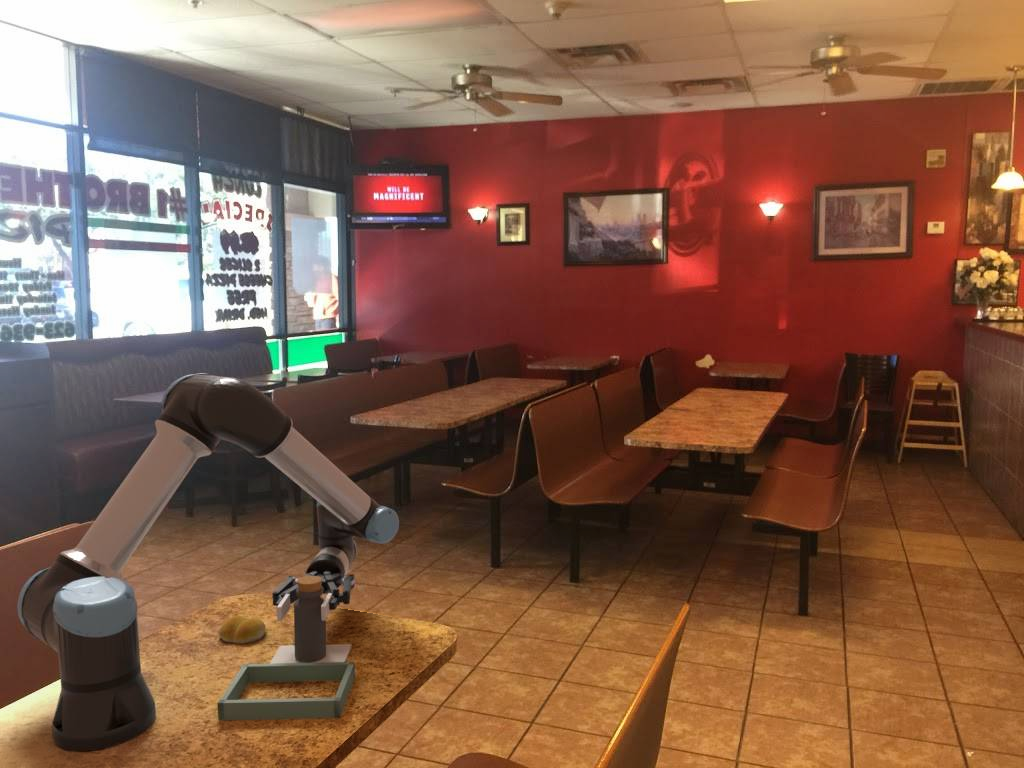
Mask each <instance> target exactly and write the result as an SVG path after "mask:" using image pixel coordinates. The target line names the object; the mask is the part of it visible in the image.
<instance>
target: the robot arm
mask: <svg viewBox="0 0 1024 768" xmlns="http://www.w3.org/2000/svg"><path fill="white" fill-rule="evenodd" d="M161 400H162V401H161V406H162V407H161V408H162V409H161V413H160V414H159V416H158V417H157V419H156V420H155V421H154V424H155V428H156V435H155V436H154V438H153V439H152V440H151V442H150V443H149V445H148V446H147V447H146V449H145V450H144V452H143V453H142V454H141V456H140V457H139V459H138V460H137V462H136V463H135V464H134V465H133V466H132V468H131V469H130V471H129V472H128V474H127V476H125V478H124V480H123V481H122V483H120V485H119V487H117V489H116V490H115V492H114V494H113V495H112V496H111V498H110V499H109V501H108V502H107V504H106V505H105V506H104V508H103V509H102V510H101V512H100V513H99V514H98V516H97V517H96V519H95V520H94V522H93V523H92V524H91V525H90V527H89V529H88V530H87V531H86V533H85V534H84V535H83V537H82V538H81V540H80V541H79V542H78V543H77V545H76V546H75V547H74V548H71V549H68V550H64V551H61V552H60V553H59V554H58V556H57V557H56V558H55V560H54V562H53V563H52V564H51V566H50V567H48V568H44V569H42V570H39V571H38V572H36V573H34V575H32V576H31V577H29V579H28V580H27V581H26V582H25V584H23V587H21V591H20V593H19V595H18V599H17V613H18V614H17V615H18V618H19V621H20V622H21V623H22V625H23V626H24V628H25V629H26V631H27V632H28V633H29V634H30V635H31V636H32V637H33V638H35V639H38V640H40V641H42V642H43V643H44V644H45V645H47V646H48V647H50V648H51V649H53V650H54V651H55V652H56V653H57V656H58V664H59V676H60V687H61V688H60V694H59V697H58V701H57V704H56V708H55V711H54V715H53V719H52V723H51V730H52V741H53V740H54V741H53V743H54V742H55V743H54V744H55V745H56V744H57V745H56V746H57V747H58V748H60V749H61V748H62V749H64V750H67V751H73V752H74V751H77V752H79V751H80V752H85V751H87V752H88V751H94V750H95V751H96V750H101V749H106V748H110V747H113V746H114V747H115V746H117V745H120V744H122V743H125V742H127V741H130V740H132V739H134V738H136V737H138V736H139V735H141V734H142V733H144V732H145V731H146V730H147V729H149V728H150V727H151V726H152V725H153V723H154V722H155V720H156V716H157V711H156V710H157V709H156V701H155V698H154V697H153V695H152V692H151V691H150V688H149V686H148V684H147V682H146V679H145V678H144V676H143V673H142V668H141V666H142V665H141V655H140V654H141V653H140V651H141V650H140V639H139V625H138V624H139V623H138V620H139V619H138V603H137V600H136V596H135V590H134V588H133V586H132V585H131V584H130V583H129V582H127V581H125V580H123V579H122V575H121V573H122V570H123V569H124V567H125V566H126V564H127V562H129V560H130V558H131V557H132V555H133V554H134V552H135V551H136V549H137V548H139V545H140V544H141V542H142V541H143V539H144V537H145V536H146V535H147V533H148V532H149V530H150V529H151V527H153V525H154V524H155V522H156V520H157V519H158V517H159V516H160V515H161V513H162V511H163V510H164V508H165V507H166V505H167V504H168V503H169V502H170V500H171V498H172V497H173V496H174V494H175V493H176V491H177V489H178V488H179V486H180V485H181V484H182V482H183V481H184V479H185V478H186V476H187V475H188V474H189V472H190V471H191V469H192V468H193V466H194V465H195V464H196V462H197V460H198V459H199V458H202V457H208V456H210V455H212V453H213V452H214V450H215V448H216V447H217V445H218V444H219V443H220V441H221V440H222V441H226V442H230V443H232V444H235V445H237V446H239V447H241V448H243V449H244V450H246V451H248V452H249V453H250V454H251V455H252V456H254V457H256V458H257V459H258V458H259V459H260V458H265V459H266V460H267V461H268V462H269V463H271V464H272V465H274V466H275V468H277V469H278V470H279V471H281V473H283V474H284V475H286V477H288V478H289V479H290V480H291V481H293V482H294V483H295V484H296V485H298V486H299V487H300V489H302V490H303V491H305V492H306V493H307V494H308V495H309V496H311V497H312V498H313V499H314V500H316V506H315V507H316V514H317V527H318V553H317V554H316V556H315V557H314V558H313V560H312V561H311V562H310V564H309V566H308V567H307V570H306V571H305V574H303V575H301V577H304V576H319V577H321V578H322V584H321V586H322V587H323V588H324V593H323V594H322V595H326V597H325V598H324V602H323V604H322V605H321V618H322V620H326V621H327V619H328V616H329V615H330V613H331V611H335V610H337V608H338V606H340V604H341V603H343V604H344V605H350V603H351V594H352V590H353V589H354V588H355V574H348V575H347V573H348V571H349V569H350V568H351V566H352V564H353V563H354V562H355V559H356V556H357V551H358V545H357V542H356V541H355V539H354V537H357V538H360V539H362V540H364V541H365V540H366V541H368V542H370V543H377V544H380V545H382V544H386V543H390V542H391V541H392V540H393V539H394V538H395V536H396V535H397V533H398V531H399V526H400V520H399V516H398V514H397V512H396V511H395V510H394V509H392V508H389V507H388V506H385V505H380V504H379V503H378V502H377V501H376V500H374V499H373V498H372V497H371V496H369V495H368V494H367V493H366V492H365V491H364V490H363V489H362V488H360V487H359V485H357V484H356V483H355V482H354V481H353V480H352V479H350V477H348V476H347V475H346V474H345V473H344V472H343V471H342V470H341V469H339V468H338V467H337V466H336V465H335V464H334V463H333V462H332V461H331V460H329V459H328V458H327V457H326V456H325V455H324V454H323V453H322V452H321V451H319V449H317V448H316V447H315V446H314V445H313V444H311V442H310V441H308V439H306V438H305V437H304V436H303V435H302V434H301V433H300V432H298V430H296V429H295V428H294V427H293V424H294V423H293V420H292V417H290V416H289V414H287V413H286V412H285V411H284V410H283V409H281V408H280V407H279V406H278V405H277V404H276V403H275V402H274V401H272V399H270V397H268V396H267V395H265V394H264V393H263V392H262V391H261V390H260V389H258V388H257V387H255V386H254V385H253V384H251V383H250V382H248V381H246V380H243V379H240V378H238V377H231V376H230V377H229V376H219V375H214V374H210V373H204V372H202V373H194V374H193V373H192V374H191V373H190V374H187V375H183V376H181V377H179V378H177V379H176V380H175V381H173V382H172V383H171V384H170V385H169V386H168V387H167V388H166V390H165V392H164V394H163V396H162V399H161ZM346 575H347V576H346ZM301 577H300V578H301ZM298 579H299V578H296V577H294V575H293V574H290V575H287V576H286V579H285V581H283V582H282V583H281V584H280V585H279V586H278V587H277V588H275V589H274V590H273V591H272V594H271V595H272V605H273V606H276V616H277V619H276V621H277V622H282V621H283V620H284V618H285V617H286V616H287V614H288V613H289V611H290V609H291V604H293V603H295V601H297V600H298V599H299V597H298V596H296V589H297V588H298V584H297V580H298ZM341 586H343V588H342V592H341V593H340V588H339V587H341Z"/></svg>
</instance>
